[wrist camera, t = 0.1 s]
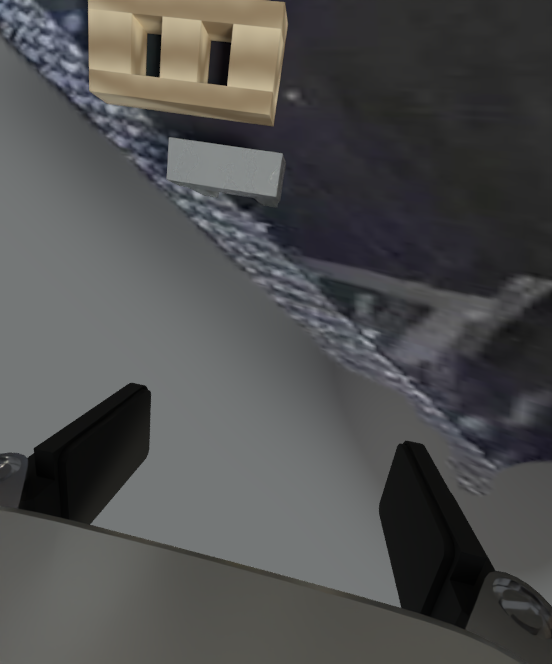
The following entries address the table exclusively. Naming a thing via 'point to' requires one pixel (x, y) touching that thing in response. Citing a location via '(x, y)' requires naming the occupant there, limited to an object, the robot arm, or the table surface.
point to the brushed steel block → (226, 170)
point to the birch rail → (188, 56)
